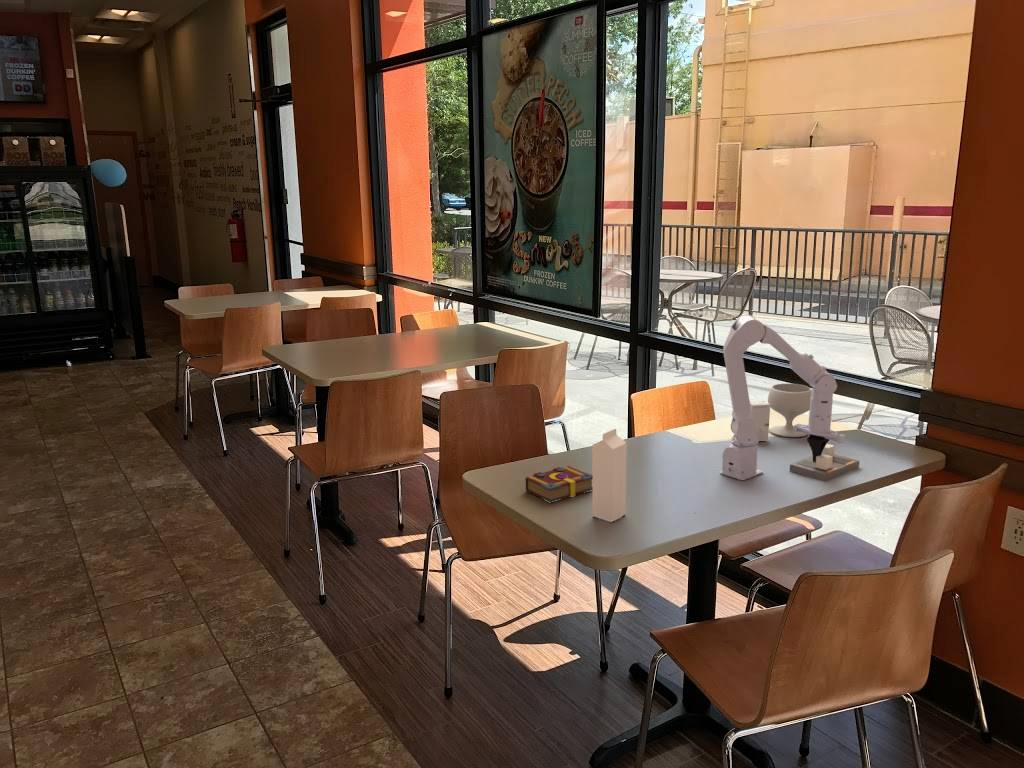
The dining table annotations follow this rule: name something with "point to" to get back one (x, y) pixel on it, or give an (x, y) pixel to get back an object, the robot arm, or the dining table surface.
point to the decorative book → (559, 483)
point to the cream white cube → (824, 462)
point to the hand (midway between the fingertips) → (816, 461)
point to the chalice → (789, 406)
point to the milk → (609, 477)
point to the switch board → (810, 470)
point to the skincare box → (761, 418)
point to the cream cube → (828, 450)
